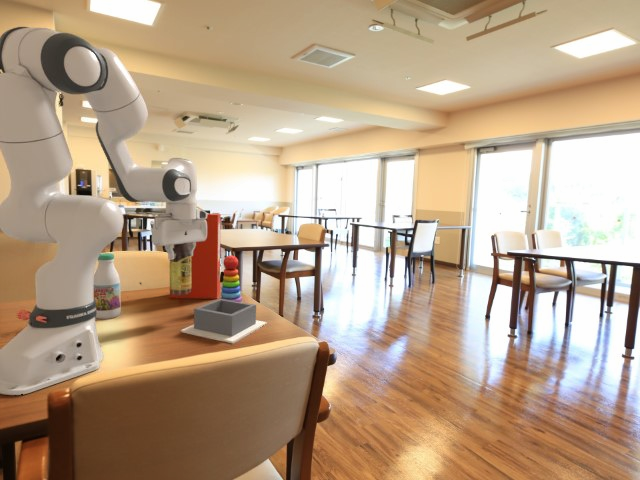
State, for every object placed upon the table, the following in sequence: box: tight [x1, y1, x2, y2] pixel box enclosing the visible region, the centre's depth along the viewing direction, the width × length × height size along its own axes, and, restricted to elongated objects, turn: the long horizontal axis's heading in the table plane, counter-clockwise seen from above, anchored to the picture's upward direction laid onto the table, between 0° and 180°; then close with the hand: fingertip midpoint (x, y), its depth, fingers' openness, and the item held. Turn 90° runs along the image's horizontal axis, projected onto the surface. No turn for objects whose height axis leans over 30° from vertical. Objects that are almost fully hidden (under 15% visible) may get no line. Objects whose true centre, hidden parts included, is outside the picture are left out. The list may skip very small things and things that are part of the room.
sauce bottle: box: [169, 231, 191, 296], centre depth 119 cm, size 6×6×20 cm
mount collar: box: [180, 298, 268, 345], centre depth 116 cm, size 18×18×7 cm
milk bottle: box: [94, 252, 122, 320], centre depth 122 cm, size 8×8×20 cm
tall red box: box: [169, 213, 222, 300], centre depth 147 cm, size 8×17×32 cm, turn 97°
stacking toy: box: [220, 255, 243, 302], centre depth 136 cm, size 8×8×19 cm
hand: (181, 257), depth 119 cm, fingers closed on sauce bottle, 6 cm apart
